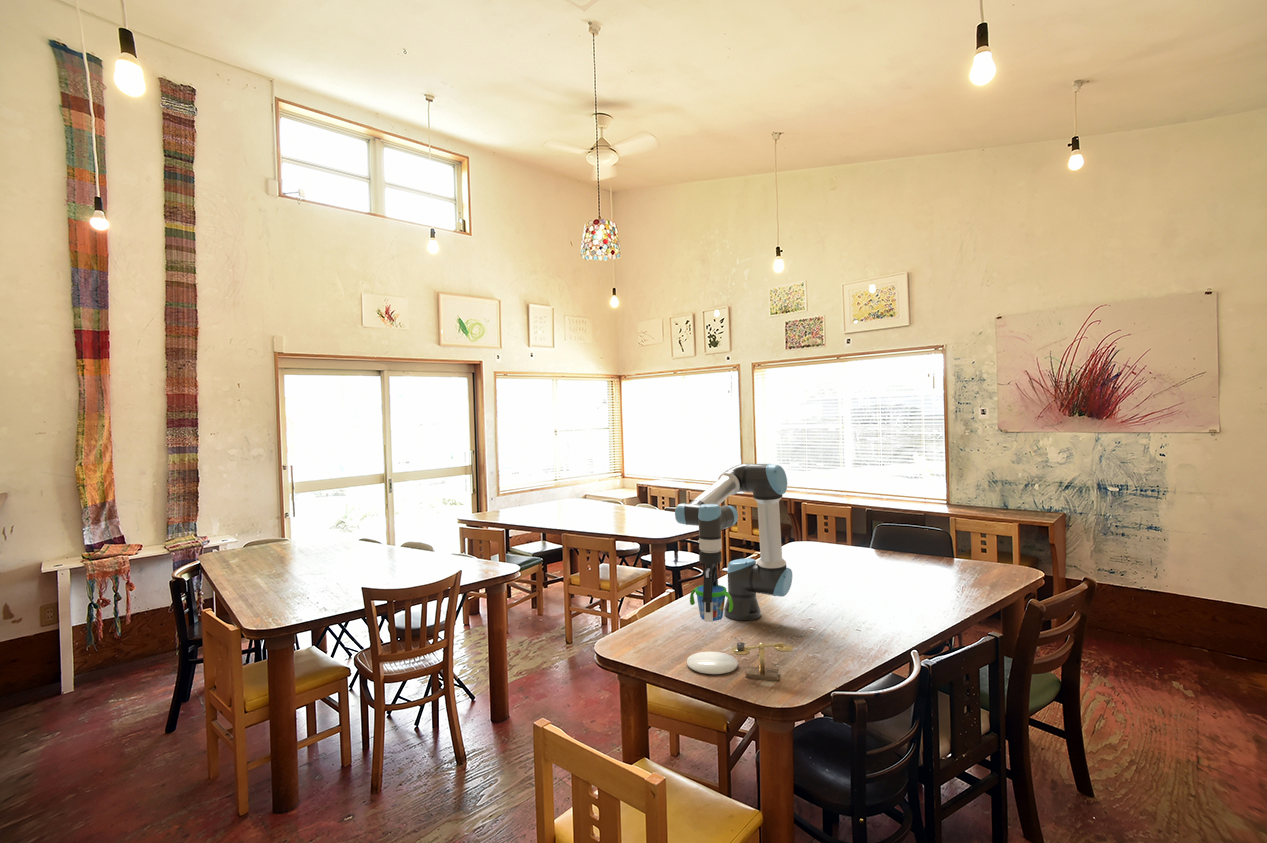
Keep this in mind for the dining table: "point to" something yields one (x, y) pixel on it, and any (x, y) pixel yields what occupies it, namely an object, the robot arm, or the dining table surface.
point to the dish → (712, 662)
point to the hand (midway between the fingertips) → (711, 616)
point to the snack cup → (717, 599)
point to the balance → (761, 659)
